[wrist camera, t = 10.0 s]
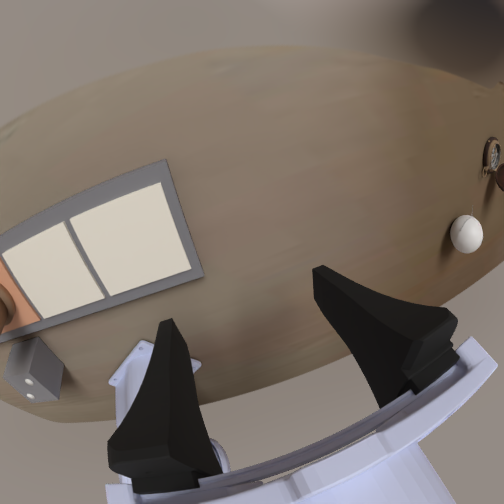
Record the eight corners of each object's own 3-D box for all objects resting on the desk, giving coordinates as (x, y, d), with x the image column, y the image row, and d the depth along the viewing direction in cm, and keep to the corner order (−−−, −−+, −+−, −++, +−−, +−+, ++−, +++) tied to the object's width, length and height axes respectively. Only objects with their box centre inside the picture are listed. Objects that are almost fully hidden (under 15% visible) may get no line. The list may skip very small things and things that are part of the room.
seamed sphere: (457, 238, 35) (482, 255, 31) (439, 245, 34) (465, 264, 29) (468, 194, 31) (496, 210, 27) (451, 197, 30) (481, 215, 25)
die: (37, 370, 23) (31, 403, 19) (12, 344, 21) (2, 378, 17) (64, 364, 24) (58, 400, 20) (38, 336, 21) (28, 373, 17)
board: (-25, 345, 19) (-28, 352, 18) (-68, 285, 13) (-73, 291, 12) (202, 269, 24) (205, 278, 23) (165, 158, 18) (166, 162, 17)
